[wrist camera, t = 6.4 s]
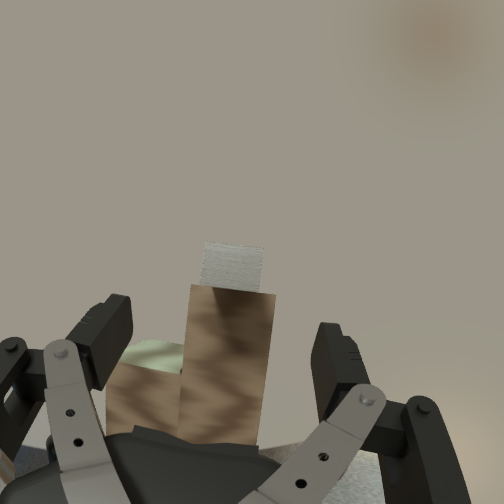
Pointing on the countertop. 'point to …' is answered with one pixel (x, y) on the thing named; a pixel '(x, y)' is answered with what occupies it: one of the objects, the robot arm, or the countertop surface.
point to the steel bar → (231, 267)
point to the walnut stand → (199, 372)
